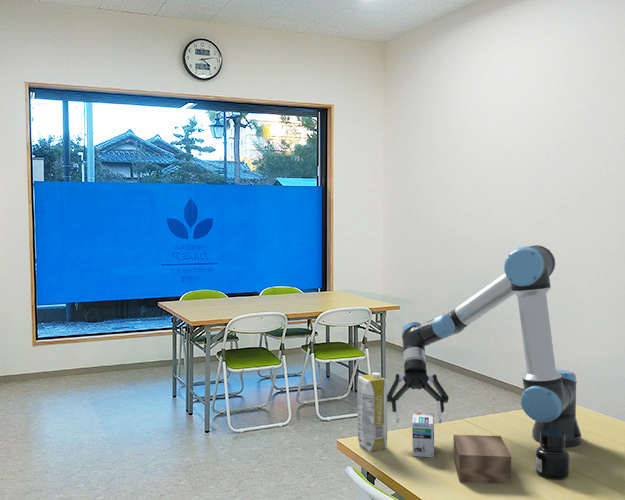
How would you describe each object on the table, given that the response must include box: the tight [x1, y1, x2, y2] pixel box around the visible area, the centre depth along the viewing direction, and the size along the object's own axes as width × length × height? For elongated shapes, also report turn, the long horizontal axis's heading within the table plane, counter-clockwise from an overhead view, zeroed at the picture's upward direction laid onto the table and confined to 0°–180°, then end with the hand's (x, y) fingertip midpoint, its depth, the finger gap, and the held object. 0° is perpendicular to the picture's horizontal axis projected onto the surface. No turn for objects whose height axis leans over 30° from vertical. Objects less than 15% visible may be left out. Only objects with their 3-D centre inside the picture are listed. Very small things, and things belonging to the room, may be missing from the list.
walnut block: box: [453, 434, 512, 485], centre depth 180 cm, size 14×16×8 cm
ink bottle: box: [535, 429, 570, 480], centre depth 177 cm, size 10×9×12 cm
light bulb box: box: [411, 411, 435, 458], centre depth 196 cm, size 11×7×11 cm, turn 168°
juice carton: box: [356, 372, 388, 452], centre depth 199 cm, size 9×8×24 cm
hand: (418, 421), depth 199 cm, fingers open, 13 cm apart
